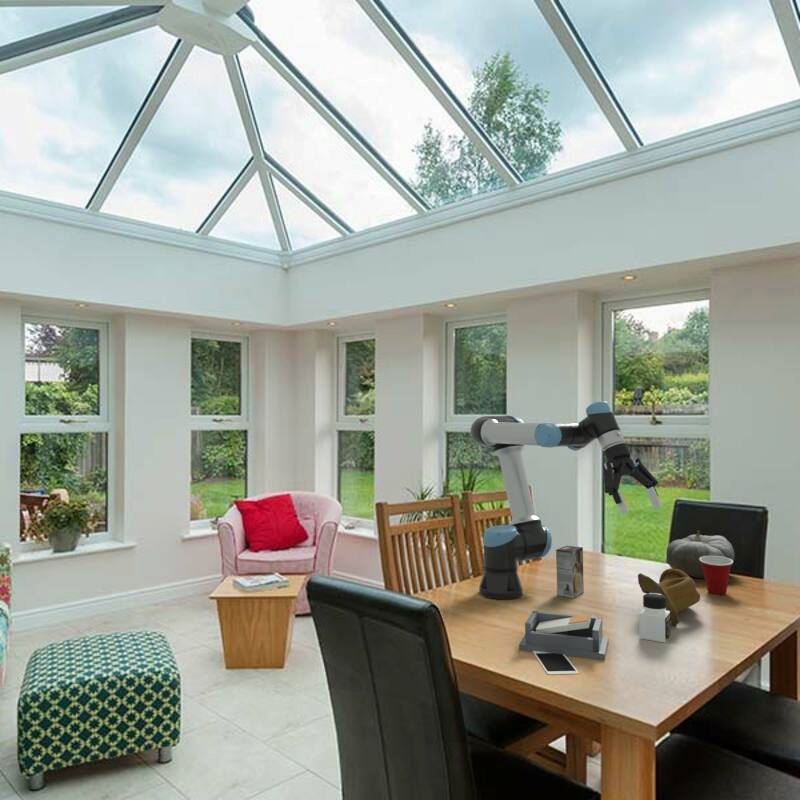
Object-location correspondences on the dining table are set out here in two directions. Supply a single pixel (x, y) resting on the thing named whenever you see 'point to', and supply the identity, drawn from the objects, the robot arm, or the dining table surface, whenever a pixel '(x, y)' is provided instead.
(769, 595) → the dining table surface
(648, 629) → the medicine bottle
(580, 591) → the coffee box
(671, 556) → the gourd
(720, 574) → the plastic cup
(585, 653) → the box
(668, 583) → the brown cowboy hat
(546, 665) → the cell phone
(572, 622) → the rocker
